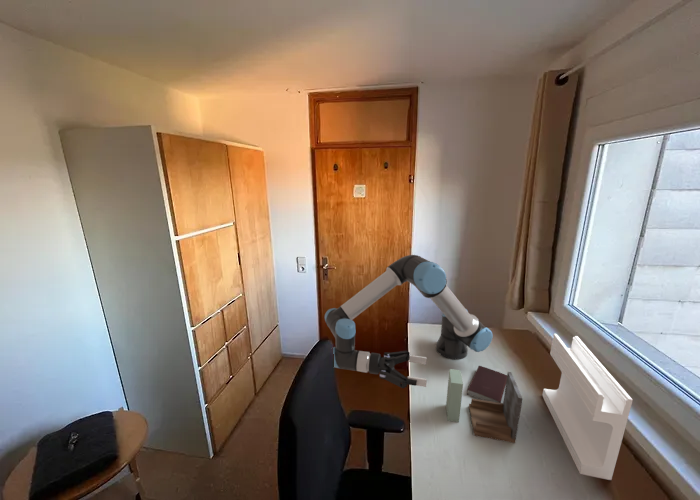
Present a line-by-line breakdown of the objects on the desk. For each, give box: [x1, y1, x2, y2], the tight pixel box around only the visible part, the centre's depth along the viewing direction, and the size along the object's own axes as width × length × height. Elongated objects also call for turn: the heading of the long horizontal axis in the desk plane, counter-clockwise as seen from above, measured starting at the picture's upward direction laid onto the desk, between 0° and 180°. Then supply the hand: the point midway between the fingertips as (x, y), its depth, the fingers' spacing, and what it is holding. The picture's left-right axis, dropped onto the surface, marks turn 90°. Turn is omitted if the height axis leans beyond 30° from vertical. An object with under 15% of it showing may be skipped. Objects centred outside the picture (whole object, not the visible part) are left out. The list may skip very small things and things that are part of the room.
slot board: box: [468, 371, 524, 444], centre depth 111 cm, size 14×13×18 cm
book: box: [466, 365, 507, 403], centre depth 132 cm, size 12×19×3 cm, turn 146°
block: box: [542, 333, 634, 481], centre depth 107 cm, size 35×8×28 cm, turn 166°
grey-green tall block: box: [445, 368, 464, 423], centre depth 116 cm, size 8×4×16 cm, turn 167°
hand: (426, 371), depth 116 cm, fingers open, 13 cm apart
